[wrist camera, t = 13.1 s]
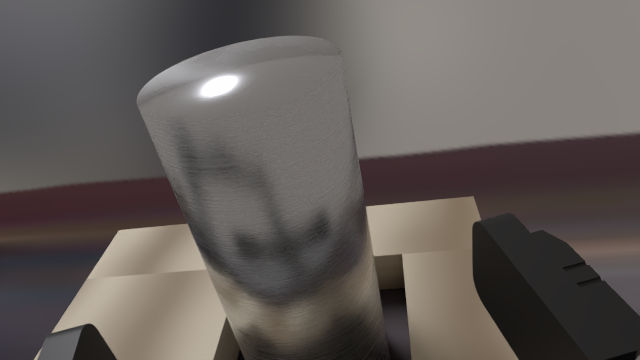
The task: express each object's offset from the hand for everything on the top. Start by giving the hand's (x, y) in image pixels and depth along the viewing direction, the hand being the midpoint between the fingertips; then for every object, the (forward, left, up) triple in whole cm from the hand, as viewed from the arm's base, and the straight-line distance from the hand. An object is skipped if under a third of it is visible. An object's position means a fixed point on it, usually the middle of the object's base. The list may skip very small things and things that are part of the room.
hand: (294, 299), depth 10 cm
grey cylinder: (-3, +4, -8) cm, 10 cm away
